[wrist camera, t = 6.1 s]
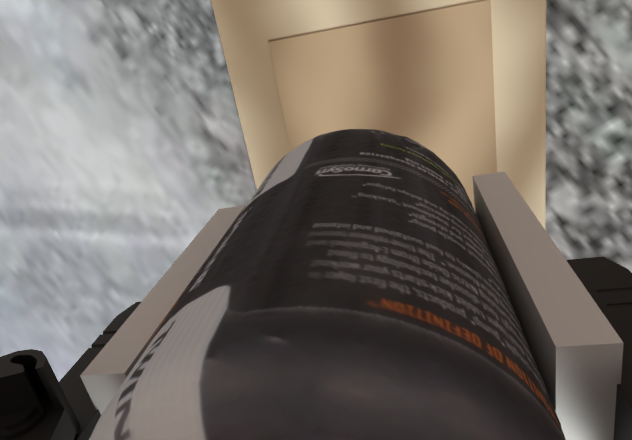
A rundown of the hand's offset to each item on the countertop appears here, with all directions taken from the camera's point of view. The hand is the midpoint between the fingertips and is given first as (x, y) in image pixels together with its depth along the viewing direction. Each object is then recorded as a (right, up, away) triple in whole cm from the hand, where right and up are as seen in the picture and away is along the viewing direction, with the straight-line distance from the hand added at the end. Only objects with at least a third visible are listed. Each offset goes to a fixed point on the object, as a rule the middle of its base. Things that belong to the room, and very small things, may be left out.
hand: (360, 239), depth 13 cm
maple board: (+3, +6, +14) cm, 15 cm away
